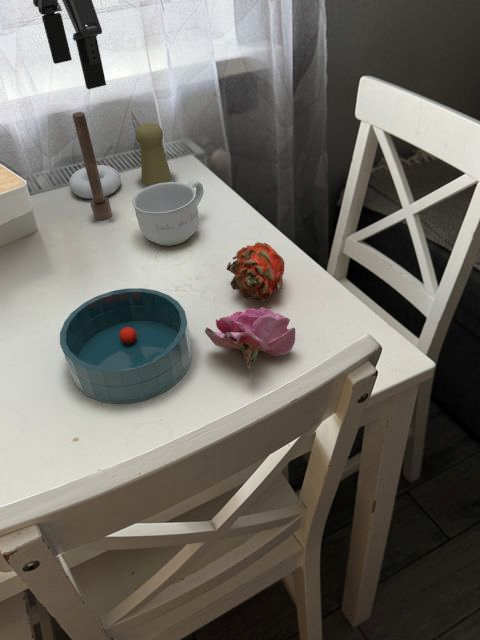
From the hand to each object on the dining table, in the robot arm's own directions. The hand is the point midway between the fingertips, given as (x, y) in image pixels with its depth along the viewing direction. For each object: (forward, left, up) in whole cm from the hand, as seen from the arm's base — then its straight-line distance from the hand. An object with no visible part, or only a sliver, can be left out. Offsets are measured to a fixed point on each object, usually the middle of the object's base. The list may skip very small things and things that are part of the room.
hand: (78, 73), depth 89 cm
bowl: (+25, -24, -27) cm, 44 cm away
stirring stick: (-5, +3, -27) cm, 28 cm away
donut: (-13, +10, -27) cm, 32 cm away
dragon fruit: (+32, -2, -27) cm, 42 cm away
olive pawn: (-5, +19, -27) cm, 34 cm away
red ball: (+22, -22, -25) cm, 40 cm away
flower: (+39, -15, -27) cm, 50 cm away
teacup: (+11, +5, -27) cm, 30 cm away
